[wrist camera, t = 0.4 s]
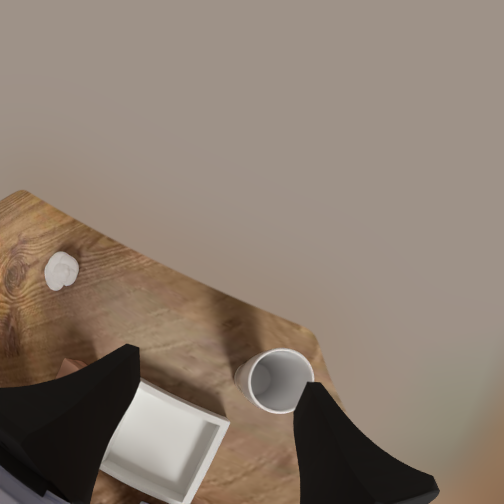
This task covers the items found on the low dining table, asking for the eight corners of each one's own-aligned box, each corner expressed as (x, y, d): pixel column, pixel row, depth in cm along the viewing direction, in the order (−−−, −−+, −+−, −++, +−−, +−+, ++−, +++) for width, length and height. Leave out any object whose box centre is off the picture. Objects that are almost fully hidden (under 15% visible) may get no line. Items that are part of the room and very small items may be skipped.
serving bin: (187, 498, 26) (186, 509, 22) (101, 457, 26) (93, 465, 22) (227, 417, 33) (230, 422, 30) (138, 375, 33) (132, 376, 30)
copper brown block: (92, 396, 30) (76, 399, 25) (71, 381, 30) (54, 381, 25) (102, 375, 32) (87, 374, 27) (81, 360, 32) (64, 357, 27)
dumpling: (73, 253, 39) (65, 242, 35) (87, 275, 38) (78, 266, 34) (45, 277, 36) (35, 269, 32) (57, 301, 35) (46, 294, 31)
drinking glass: (219, 370, 36) (233, 370, 23) (259, 348, 39) (292, 333, 25) (244, 408, 34) (271, 427, 21) (282, 385, 37) (327, 388, 24)
